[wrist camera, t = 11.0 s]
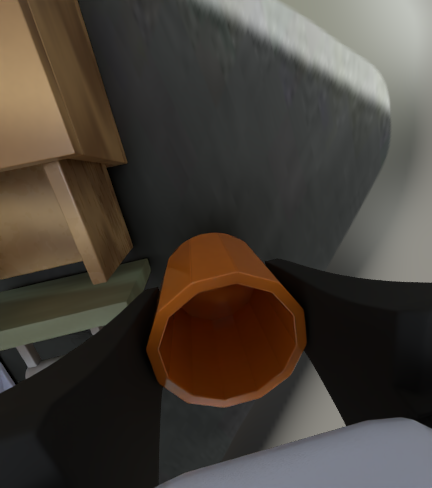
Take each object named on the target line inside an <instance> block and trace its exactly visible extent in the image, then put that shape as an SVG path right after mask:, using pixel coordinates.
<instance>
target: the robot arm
mask: <svg viewBox="0 0 432 488" xmlns="http://www.w3.org/2000/svg"><path fill="white" fill-rule="evenodd" d="M265 264H266V266H267V267H268V269H269V270H270V271H271V272H272V273H273V274H274V276H275V277H276V278H277V279H278V280H279V281H280V282H281V284H282V285H283V286H284V287H285V288H286V289H287V290H288V292H289V293H290V294H291V295H292V296H293V297H294V299H295V300H296V301H297V302H298V303H299V304H300V305H301V307H302V308H303V310H304V314H305V326H306V338H307V344H306V347H305V349H304V351H305V353H306V354H307V355H308V357H309V358H310V360H311V362H312V364H313V365H314V367H315V369H316V371H317V372H318V374H319V376H320V378H321V380H322V381H323V383H324V385H325V387H326V389H327V391H328V392H329V394H330V396H331V398H332V400H333V402H334V403H335V405H336V407H337V409H338V411H339V413H340V414H341V417H342V419H343V420H344V422H345V424H346V427H342V428H339V429H335V430H332V431H328V432H325V433H321V434H318V435H314V436H311V437H308V438H304V439H301V440H298V441H294V442H290V443H287V444H283V445H280V446H276V447H273V448H269V449H266V450H263V451H259V452H256V453H252V454H249V455H245V456H242V457H238V458H235V459H231V460H228V461H224V462H221V463H217V464H214V465H210V466H207V467H204V468H200V469H197V470H193V471H190V472H186V473H183V474H181V475H179V476H177V477H175V478H173V479H171V480H169V481H167V482H165V483H163V484H161V485H159V486H158V484H159V438H160V413H161V397H162V388H163V386H162V385H160V384H159V383H158V381H157V379H156V376H155V374H154V371H153V368H152V366H151V363H150V360H149V358H148V355H147V352H146V346H147V341H148V337H149V333H150V329H151V324H152V320H153V316H154V312H155V308H156V303H157V299H158V295H159V289H158V287H156V288H151V289H147V290H144V291H143V292H142V293H141V294H139V295H138V296H137V297H136V298H135V299H134V300H133V301H132V302H131V303H130V304H129V305H128V306H127V307H126V308H125V309H123V310H122V311H121V312H120V313H119V314H118V315H117V316H116V317H115V318H114V319H112V320H111V321H110V322H109V323H108V324H107V325H106V326H104V327H103V328H102V329H101V330H100V331H98V332H97V333H96V334H95V335H93V336H92V337H91V338H89V339H88V340H87V341H85V342H84V343H83V344H81V345H80V346H78V347H77V348H76V349H74V350H73V351H71V352H69V353H68V354H66V355H65V356H63V357H62V358H60V359H59V360H57V361H56V362H54V363H52V364H51V365H49V366H48V367H46V368H44V369H43V370H41V371H39V372H38V373H36V374H34V375H32V376H31V377H29V378H27V379H25V380H24V381H22V382H20V383H18V384H16V385H15V383H14V382H13V380H12V379H11V377H10V376H9V374H8V373H7V371H6V370H5V368H4V367H3V365H2V364H1V362H0V488H432V283H418V282H392V281H382V280H371V279H363V278H355V277H349V276H343V275H338V274H333V273H329V272H325V271H321V270H317V269H313V268H309V267H306V266H303V265H299V264H296V263H293V262H289V261H286V260H282V259H274V260H269V261H265Z"/></svg>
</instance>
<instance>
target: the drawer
mask: <svg viewBox="0 0 432 488" xmlns="http://www.w3.org/2000/svg"><path fill="white" fill-rule="evenodd" d="M132 248H133V245H132V242H131V239H130V236H129V233H128V230H127V227H126V224H125V221H124V218H123V215H122V213H121V210H120V207H119V204H118V201H117V198H116V195H115V192H114V189H113V186H112V183H111V180H110V177H109V174H108V171H107V168H106V166H105V163H97V162H90V161H82V160H75V159H68V158H67V159H62V160H57V161H52V162H47V163H43V164H38V165H33V166H28V167H23V168H18V169H13V170H8V171H3V172H0V280H1V279H6V278H10V277H15V276H19V275H23V274H28V273H32V272H37V271H41V270H45V269H50V268H54V267H59V266H63V265H67V264H72V263H76V262H81V261H83V262H84V265H85V267H86V269H87V272H86V273H82V274H77V275H73V276H69V277H64V278H60V279H56V280H51V281H47V282H43V283H38V284H34V285H30V286H25V287H21V288H16V289H12V290H8V291H3V292H0V351H1V350H5V349H10V348H14V347H16V348H17V350H18V352H19V353H20V355H21V356H22V358H23V360H24V361H25V363H26V365H27V366H28V368H27V370H26V375H25V377H26V379H27V378H29V377H31V376H32V375H34V374H36V373H38V372H39V371H41V370H43V369H44V368H46V367H48V366H49V365H51V364H52V363H54V362H56V361H57V360H59V359H60V358H62V357H63V356H65V355H62V356H58V357H54V358H50V359H46V360H42V361H41V358H40V356H39V354H38V353H37V351H36V349H35V348H34V346H33V344H32V343H34V342H38V341H42V340H46V339H51V338H55V337H59V336H63V335H67V334H71V333H75V332H79V331H83V330H87V329H90V330H91V333H92V335H95V334H96V333H97V332H98V331H100V330H101V329H102V328H103V326H104V325H107V324H108V323H109V322H110V321H111V320H112V319H114V318H115V317H116V316H117V315H118V314H119V313H120V312H121V311H122V310H123V309H125V308H126V307H127V306H128V305H129V304H130V303H131V302H132V301H133V300H134V299H135V298H136V297H137V296H138V295H139V294H141V293H142V292H143V291H144V288H145V285H146V283H147V280H148V277H149V275H150V272H151V269H150V266H149V262H148V259H142V260H138V261H134V262H129V263H125V264H121V262H122V261H123V260H124V258H125V257H126V256H127V254H128V253H129V252H130V250H131V249H132ZM120 264H121V265H120Z"/></svg>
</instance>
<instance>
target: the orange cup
mask: <svg viewBox="0 0 432 488" xmlns="http://www.w3.org/2000/svg"><path fill="white" fill-rule="evenodd" d="M306 344H307V338H306V326H305V314H304V310H303V308H302V307H301V305H300V304H299V303H298V302H297V301H296V300H295V299H294V297H293V296H292V295H291V294H290V293H289V292H288V290H287V289H286V288H285V287H284V286H283V285H282V284H281V282H280V281H279V280H278V279H277V278H276V277H275V276H274V274H273V273H272V272H271V271H270V270H269V269H268V267H267V266H266V265H265V264H264V263H263V262H262V261H261V259H260V258H259V257H258V256H257V255H256V254H255V253H254V252H253V250H252V249H251V248H250V247H249V246H248V245H247V244H246V242H245V241H243V240H240V239H238V238H236V237H234V236H232V235H229V234H224V233H205V234H201V235H198V236H195V237H193V238H190V239H189V240H187V241H185V242H184V243H183V244H181V245H180V246H179V247H178V248H177V249H176V250H175V251H174V253H173V254H172V255H171V256H170V257H169V259H168V262H167V265H166V268H165V272H164V275H163V279H162V282H161V287H160V291H159V295H158V299H157V303H156V308H155V312H154V316H153V320H152V324H151V329H150V333H149V337H148V341H147V346H146V352H147V355H148V358H149V360H150V363H151V366H152V368H153V371H154V374H155V376H156V379H157V381H158V383H159V384H160V385H162V386H163V387H165V388H166V389H167V390H169V391H170V392H172V393H173V394H175V395H176V396H178V397H179V398H181V399H182V400H184V401H185V402H188V403H190V404H198V405H206V406H214V407H222V408H224V407H229V406H233V405H236V404H240V403H244V402H247V401H251V400H255V399H258V398H261V397H263V396H264V395H265V394H267V393H268V392H269V391H271V390H272V389H273V388H274V387H276V386H277V385H278V384H280V383H281V382H282V381H284V380H285V379H286V378H287V377H289V376H290V375H291V374H292V372H293V370H294V368H295V366H296V364H297V362H298V360H299V358H300V356H301V354H302V352H303V351H304V349H305V347H306Z"/></svg>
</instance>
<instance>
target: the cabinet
mask: <svg viewBox="0 0 432 488" xmlns="http://www.w3.org/2000/svg"><path fill="white" fill-rule="evenodd" d="M67 158H68V159H75V160H82V161H90V162H97V163H105V166H106V168H108V167H113V166H118V165H123V164H127V159H126V156H125V153H124V150H123V146H122V143H121V140H120V137H119V133H118V130H117V127H116V124H115V121H114V117H113V114H112V111H111V108H110V104H109V101H108V98H107V95H106V91H105V88H104V85H103V82H102V78H101V75H100V72H99V69H98V66H97V62H96V59H95V56H94V53H93V49H92V46H91V43H90V40H89V36H88V33H87V30H86V27H85V23H84V20H83V17H82V14H81V11H80V7H79V4H78V1H77V0H0V172H3V171H8V170H13V169H18V168H23V167H28V166H33V165H38V164H43V163H47V162H52V161H57V160H62V159H67Z"/></svg>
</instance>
